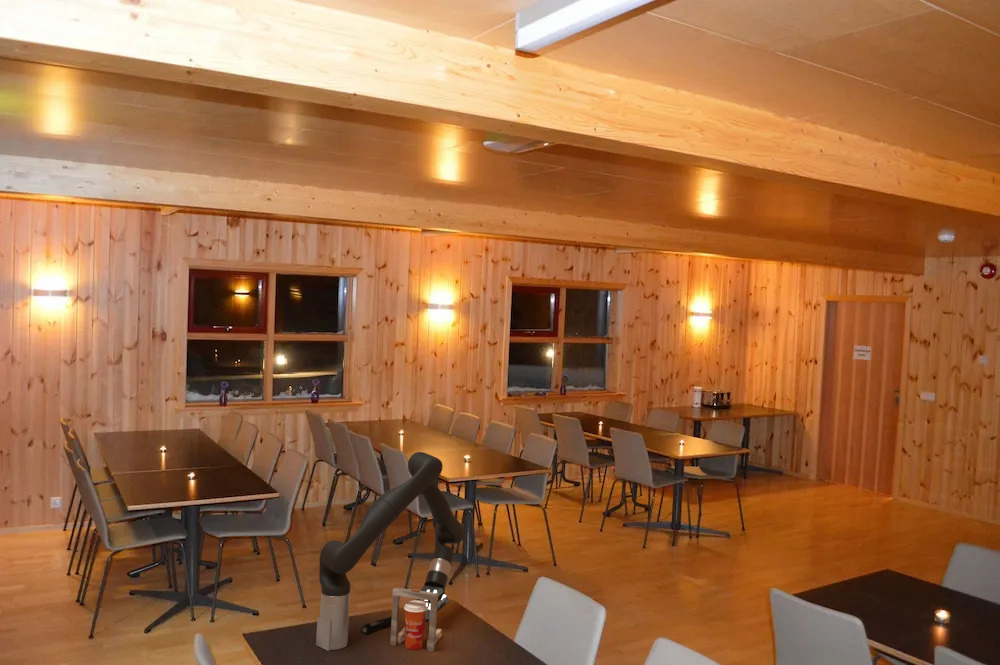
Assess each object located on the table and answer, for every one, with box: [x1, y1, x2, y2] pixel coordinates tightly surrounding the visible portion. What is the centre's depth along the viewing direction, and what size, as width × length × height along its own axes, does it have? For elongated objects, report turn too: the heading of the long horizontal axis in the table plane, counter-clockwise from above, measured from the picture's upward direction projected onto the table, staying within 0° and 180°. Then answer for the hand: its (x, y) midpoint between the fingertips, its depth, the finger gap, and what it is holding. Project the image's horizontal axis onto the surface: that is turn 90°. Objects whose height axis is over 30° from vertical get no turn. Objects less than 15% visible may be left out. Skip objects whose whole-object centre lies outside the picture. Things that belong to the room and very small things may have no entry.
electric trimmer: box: [360, 615, 392, 635], centre depth 273 cm, size 4×16×3 cm, turn 140°
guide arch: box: [389, 587, 443, 652], centre depth 263 cm, size 13×15×19 cm
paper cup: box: [403, 599, 428, 651], centre depth 258 cm, size 8×8×14 cm
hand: (425, 621), depth 268 cm, fingers closed
